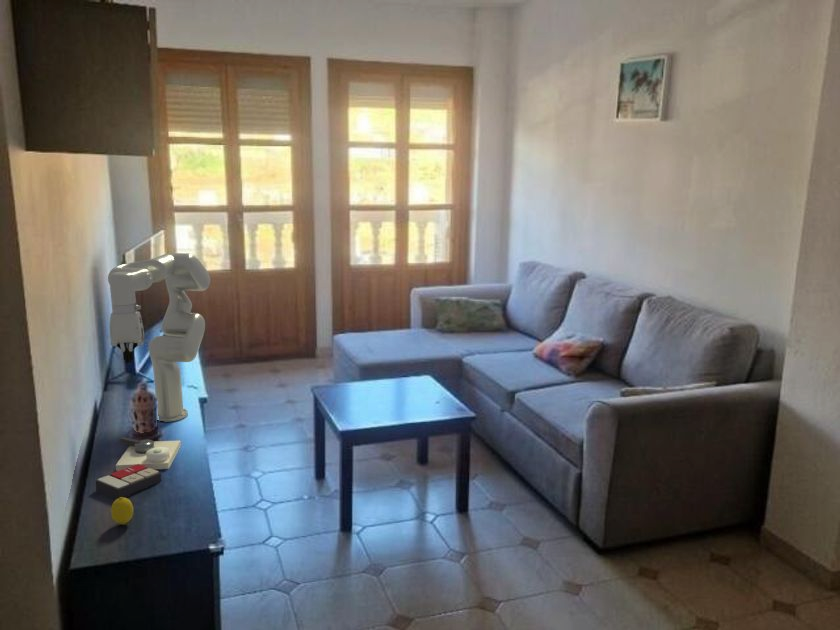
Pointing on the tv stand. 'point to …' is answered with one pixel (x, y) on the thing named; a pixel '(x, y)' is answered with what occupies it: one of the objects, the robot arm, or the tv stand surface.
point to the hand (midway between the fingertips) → (129, 361)
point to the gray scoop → (138, 444)
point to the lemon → (122, 510)
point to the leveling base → (142, 458)
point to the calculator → (127, 481)
